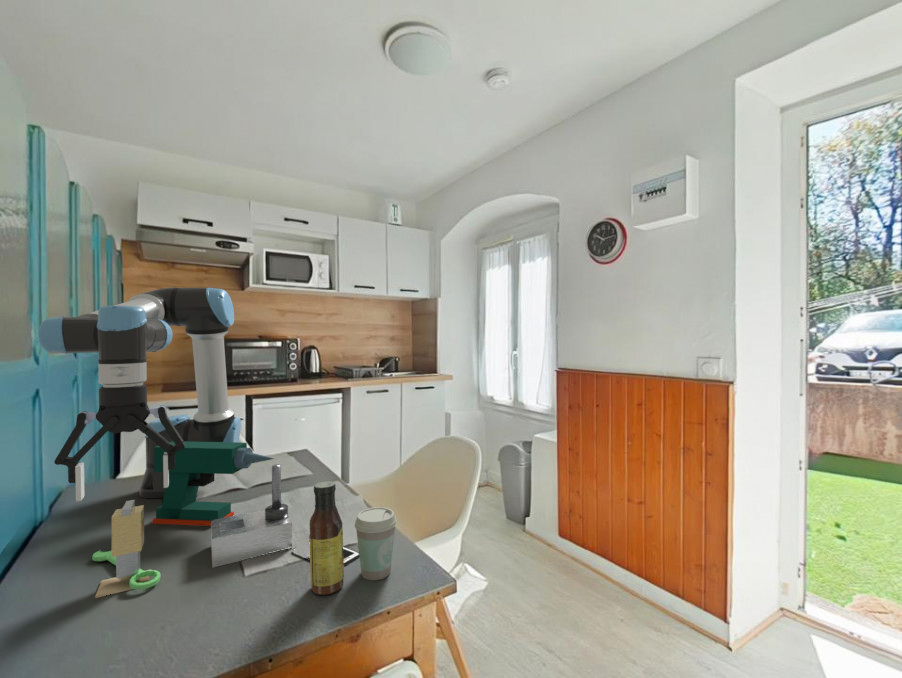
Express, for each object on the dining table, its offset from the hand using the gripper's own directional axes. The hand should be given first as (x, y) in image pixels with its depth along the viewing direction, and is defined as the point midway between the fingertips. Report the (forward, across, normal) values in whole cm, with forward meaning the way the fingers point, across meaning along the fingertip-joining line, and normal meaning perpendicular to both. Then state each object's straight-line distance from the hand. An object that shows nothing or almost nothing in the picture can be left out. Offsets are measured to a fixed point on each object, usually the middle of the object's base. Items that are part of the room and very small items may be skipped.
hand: (125, 492), depth 85 cm
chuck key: (+16, 0, 0) cm, 16 cm away
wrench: (+18, -1, +5) cm, 19 cm away
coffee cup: (+18, +44, -22) cm, 52 cm away
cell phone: (+19, +37, -9) cm, 42 cm away
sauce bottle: (+18, +34, -22) cm, 44 cm away
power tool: (+19, +17, +24) cm, 35 cm away
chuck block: (+18, +23, +3) cm, 29 cm away
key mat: (+18, 0, -1) cm, 18 cm away
